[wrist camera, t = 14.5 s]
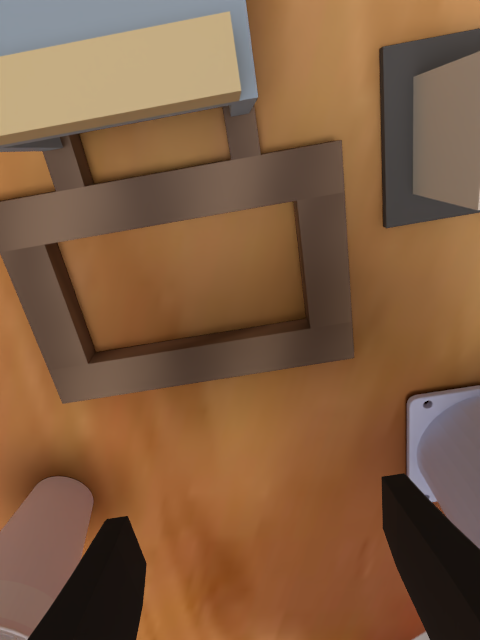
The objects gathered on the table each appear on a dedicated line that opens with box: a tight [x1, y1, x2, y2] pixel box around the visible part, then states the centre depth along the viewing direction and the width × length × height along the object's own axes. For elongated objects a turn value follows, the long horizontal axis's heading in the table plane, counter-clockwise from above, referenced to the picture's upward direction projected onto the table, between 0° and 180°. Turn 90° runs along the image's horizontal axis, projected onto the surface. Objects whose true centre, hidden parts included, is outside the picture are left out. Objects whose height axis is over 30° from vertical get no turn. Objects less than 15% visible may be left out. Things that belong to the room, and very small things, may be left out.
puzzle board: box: [0, 105, 354, 404], centre depth 17 cm, size 15×20×1 cm
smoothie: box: [0, 476, 94, 640], centre depth 18 cm, size 6×6×14 cm
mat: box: [380, 29, 480, 228], centre depth 17 cm, size 7×7×1 cm
